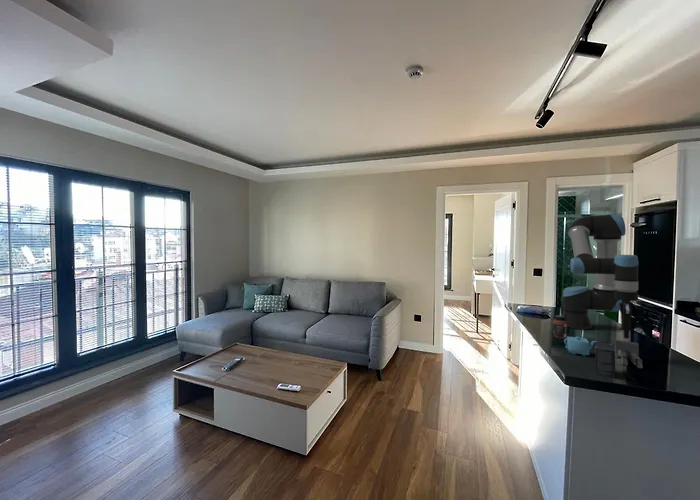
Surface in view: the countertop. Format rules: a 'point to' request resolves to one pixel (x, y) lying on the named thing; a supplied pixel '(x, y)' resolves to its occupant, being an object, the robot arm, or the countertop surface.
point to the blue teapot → (578, 345)
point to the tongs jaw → (636, 360)
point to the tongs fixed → (624, 357)
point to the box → (605, 359)
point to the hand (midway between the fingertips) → (625, 344)
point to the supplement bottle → (560, 327)
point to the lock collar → (626, 347)
